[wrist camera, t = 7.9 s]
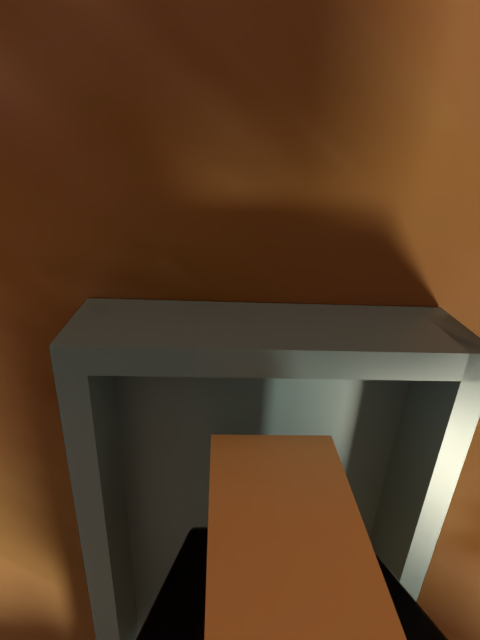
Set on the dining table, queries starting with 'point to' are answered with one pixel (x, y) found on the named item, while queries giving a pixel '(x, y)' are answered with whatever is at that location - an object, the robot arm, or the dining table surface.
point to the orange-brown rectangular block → (289, 546)
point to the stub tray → (254, 423)
